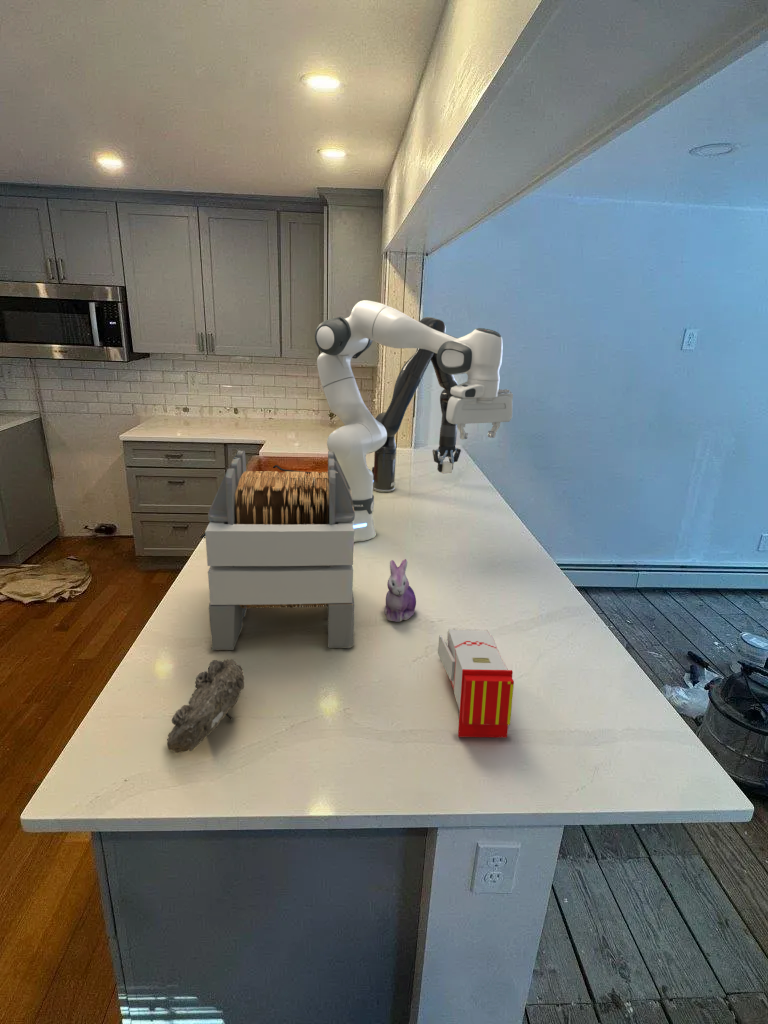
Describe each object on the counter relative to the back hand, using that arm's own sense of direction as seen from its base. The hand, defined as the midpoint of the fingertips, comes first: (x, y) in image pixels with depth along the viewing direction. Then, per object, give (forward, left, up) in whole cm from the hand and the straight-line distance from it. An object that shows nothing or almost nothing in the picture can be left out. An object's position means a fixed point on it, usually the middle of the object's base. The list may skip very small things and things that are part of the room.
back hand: (445, 471), depth 258 cm
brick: (0, 0, 0) cm, 0 cm away
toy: (+92, -120, -6) cm, 151 cm away
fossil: (+61, -161, -6) cm, 172 cm away
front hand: (+56, -68, +35) cm, 95 cm away
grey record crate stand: (+41, -126, -6) cm, 133 cm away
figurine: (+61, -106, -6) cm, 122 cm away
